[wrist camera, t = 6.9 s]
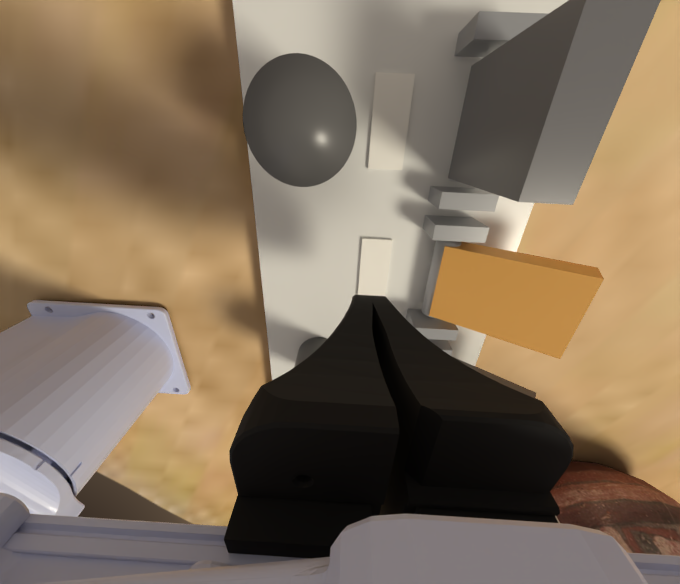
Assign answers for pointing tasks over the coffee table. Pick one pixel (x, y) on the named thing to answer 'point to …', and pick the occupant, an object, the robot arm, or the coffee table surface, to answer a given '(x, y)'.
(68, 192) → the coffee table surface
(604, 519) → the pottery
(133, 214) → the coffee table surface
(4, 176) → the coffee table surface
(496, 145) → the paddle
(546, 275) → the block
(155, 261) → the coffee table surface
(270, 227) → the breaker panel
